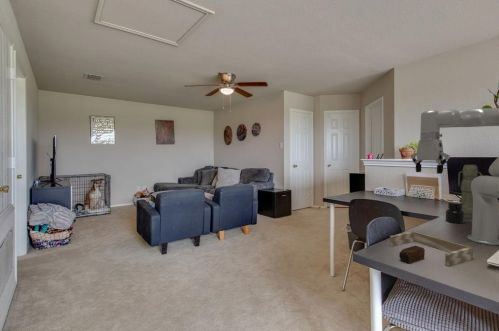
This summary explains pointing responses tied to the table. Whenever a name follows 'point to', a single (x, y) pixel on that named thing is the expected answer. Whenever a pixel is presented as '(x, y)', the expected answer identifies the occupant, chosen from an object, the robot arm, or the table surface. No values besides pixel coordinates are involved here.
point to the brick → (412, 254)
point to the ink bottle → (455, 213)
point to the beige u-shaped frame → (436, 246)
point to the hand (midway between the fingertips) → (428, 172)
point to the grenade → (467, 188)
